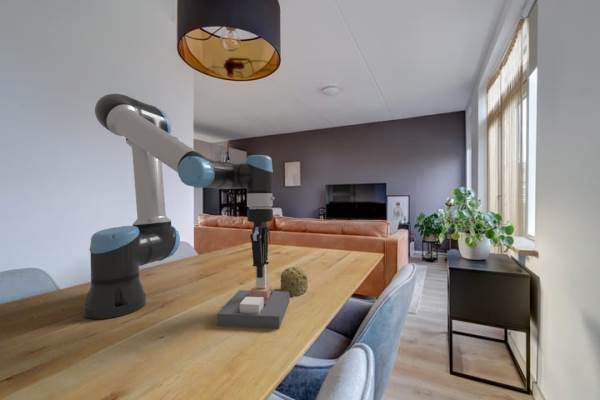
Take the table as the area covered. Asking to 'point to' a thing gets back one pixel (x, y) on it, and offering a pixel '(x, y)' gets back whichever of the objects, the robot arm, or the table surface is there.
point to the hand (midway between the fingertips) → (261, 287)
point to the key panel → (266, 319)
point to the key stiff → (261, 292)
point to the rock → (294, 281)
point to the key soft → (252, 305)
